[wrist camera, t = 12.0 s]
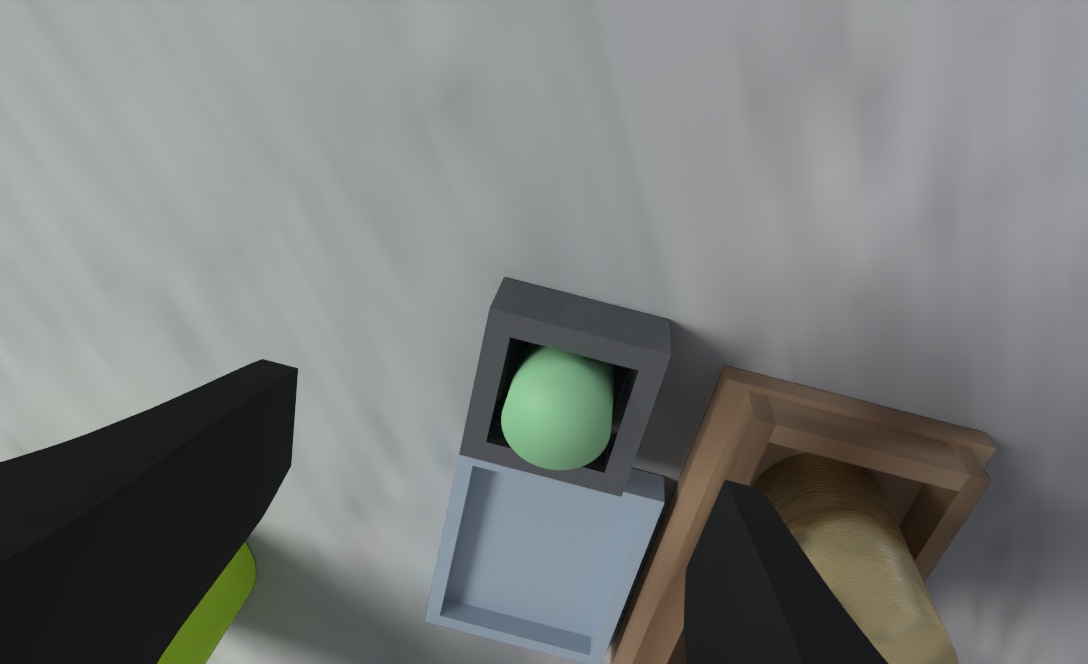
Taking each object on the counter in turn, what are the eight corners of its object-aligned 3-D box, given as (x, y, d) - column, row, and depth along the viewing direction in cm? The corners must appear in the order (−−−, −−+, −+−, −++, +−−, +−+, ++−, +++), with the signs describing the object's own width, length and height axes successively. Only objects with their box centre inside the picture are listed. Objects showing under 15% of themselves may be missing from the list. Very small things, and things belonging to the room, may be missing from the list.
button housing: (669, 319, 21) (671, 355, 19) (623, 453, 23) (621, 497, 21) (504, 277, 21) (489, 308, 19) (474, 414, 23) (459, 454, 22)
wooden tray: (984, 432, 21) (1020, 481, 19) (814, 703, 27) (827, 763, 25) (724, 365, 22) (732, 406, 20) (610, 650, 28) (608, 704, 26)
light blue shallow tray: (663, 476, 24) (664, 502, 22) (601, 638, 27) (599, 667, 26) (469, 425, 24) (459, 449, 23) (433, 594, 27) (424, 621, 26)
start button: (626, 344, 21) (624, 394, 19) (600, 425, 23) (595, 481, 20) (528, 319, 21) (513, 365, 19) (508, 402, 23) (491, 454, 20)
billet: (905, 470, 21) (1002, 657, 16) (850, 566, 23) (918, 766, 17) (774, 437, 22) (822, 611, 16) (730, 535, 23) (757, 724, 18)
